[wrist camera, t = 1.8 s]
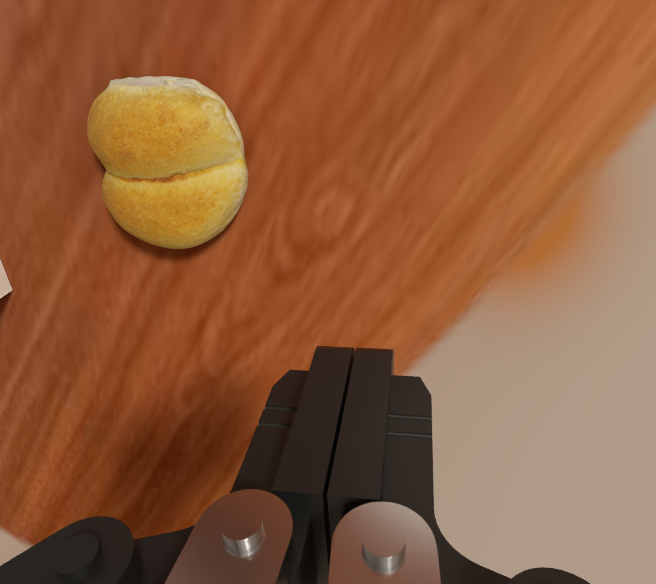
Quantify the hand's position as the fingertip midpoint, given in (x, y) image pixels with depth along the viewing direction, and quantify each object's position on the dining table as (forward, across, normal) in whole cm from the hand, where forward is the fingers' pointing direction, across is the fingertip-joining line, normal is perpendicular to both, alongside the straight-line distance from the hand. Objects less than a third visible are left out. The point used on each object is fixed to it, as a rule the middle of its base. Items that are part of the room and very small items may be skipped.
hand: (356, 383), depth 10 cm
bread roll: (+19, +12, 0) cm, 22 cm away
